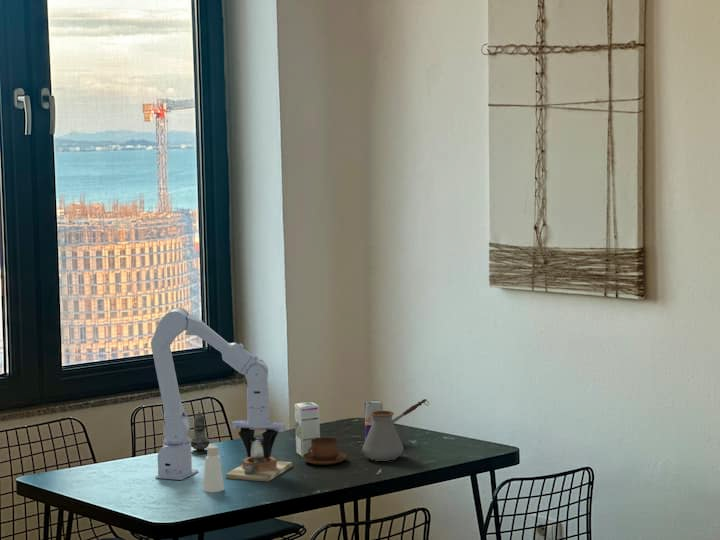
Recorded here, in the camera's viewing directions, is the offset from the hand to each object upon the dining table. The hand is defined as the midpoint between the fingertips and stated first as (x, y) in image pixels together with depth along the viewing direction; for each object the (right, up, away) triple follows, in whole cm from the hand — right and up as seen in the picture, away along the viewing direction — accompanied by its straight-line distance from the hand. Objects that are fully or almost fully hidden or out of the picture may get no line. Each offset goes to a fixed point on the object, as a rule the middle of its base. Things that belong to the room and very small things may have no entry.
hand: (259, 456), depth 302 cm
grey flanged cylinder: (-19, -3, +24) cm, 31 cm away
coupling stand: (0, -4, 0) cm, 4 cm away
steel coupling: (0, -2, 0) cm, 2 cm away
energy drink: (+31, -1, +34) cm, 46 cm away
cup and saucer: (+17, -4, +11) cm, 20 cm away
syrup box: (+12, -3, +19) cm, 23 cm away
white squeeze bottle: (-10, -6, -16) cm, 20 cm away
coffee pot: (+37, -3, +16) cm, 41 cm away
